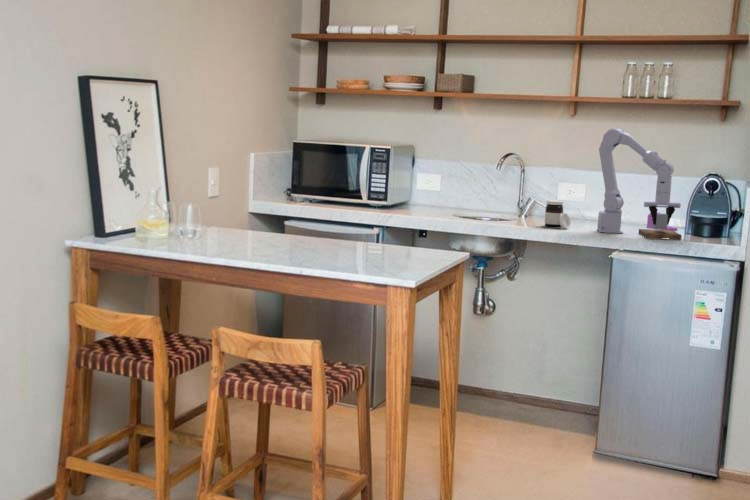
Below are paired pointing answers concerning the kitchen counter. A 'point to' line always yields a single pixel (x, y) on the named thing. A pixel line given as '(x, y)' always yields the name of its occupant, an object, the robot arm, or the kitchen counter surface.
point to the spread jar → (556, 215)
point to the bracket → (650, 224)
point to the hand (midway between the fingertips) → (660, 224)
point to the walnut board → (659, 234)
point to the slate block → (661, 221)
